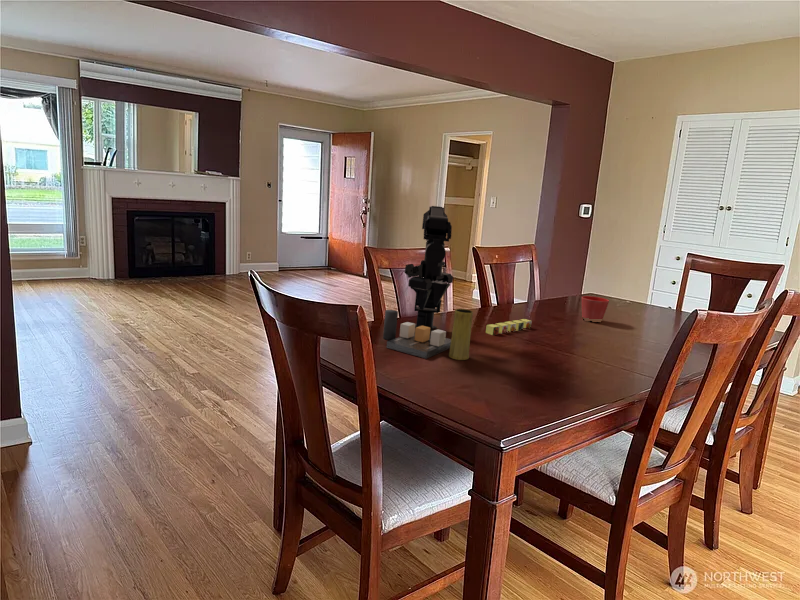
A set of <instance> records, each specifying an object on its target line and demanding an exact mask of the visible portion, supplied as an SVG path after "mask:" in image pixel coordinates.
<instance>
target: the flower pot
mask: <svg viewBox="0 0 800 600" xmlns="http://www.w3.org/2000/svg"><path fill="white" fill-rule="evenodd" d="M609 303H610V300H609V299H607V298H604V297H598V296H591V295H584V296H581V317H584V318H589V319H602V320H603V318H604V316H605V314H606V311H607V308H608V306H609Z"/></svg>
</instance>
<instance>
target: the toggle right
mask: <svg viewBox="0 0 800 600" xmlns="http://www.w3.org/2000/svg"><path fill="white" fill-rule="evenodd" d="M430 334H431V339H430V344H431V345H435V346H438V347H439V346H441V345H443V344H445V338H447V337H446V336H447V331H445V330H442V329H437V328H436V329H433V330H430Z"/></svg>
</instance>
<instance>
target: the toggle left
mask: <svg viewBox="0 0 800 600" xmlns="http://www.w3.org/2000/svg"><path fill="white" fill-rule="evenodd" d="M415 325H416V323H414V322H409V321H406V322H403V323H400V328H399V337H404V338H410V337H413V336H414V333H415V330H416V328H415Z"/></svg>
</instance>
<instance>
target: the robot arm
mask: <svg viewBox="0 0 800 600" xmlns="http://www.w3.org/2000/svg"><path fill="white" fill-rule="evenodd" d="M422 217H423V218H422V225H421V227H422V228H421V229H422V230H423V240H425V241H426V242H425V249H424V260H423V259H422V260H421V261H420V264H419V265H414V264H413V263H408V264H405V268H404V273H403V274H405V275H406V276H407V278H408V284H407V286H408V287H410V289H411V290H413V291H414V293H415V299H414V300H415V301H414V312H417V315H416V323H415V329H416V327H419V326H426V327H430V331H433V330H435V329H437V326H436V325H434V318H435V317H434V316H435V314H438V313H440V312H441V306H442V298H443V296H444V295H445V293H446V292H447V290H448V289H449V287H450V286H451V284H452V283H453V282H454V281H453V280H454V276H453V274H452V273H449V272H443V266H445V265H446V261H444V259H445V258H446V255H447V252H446V249H445V242H450V240H451V239H452V228H453V226H452V224H451V221H449V218H448V215H447V214H446V213H445V208H444V207H443V206H436V205H431V206H429V209H428V210H427V211H426V212H425V213H423V216H422Z"/></svg>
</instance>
